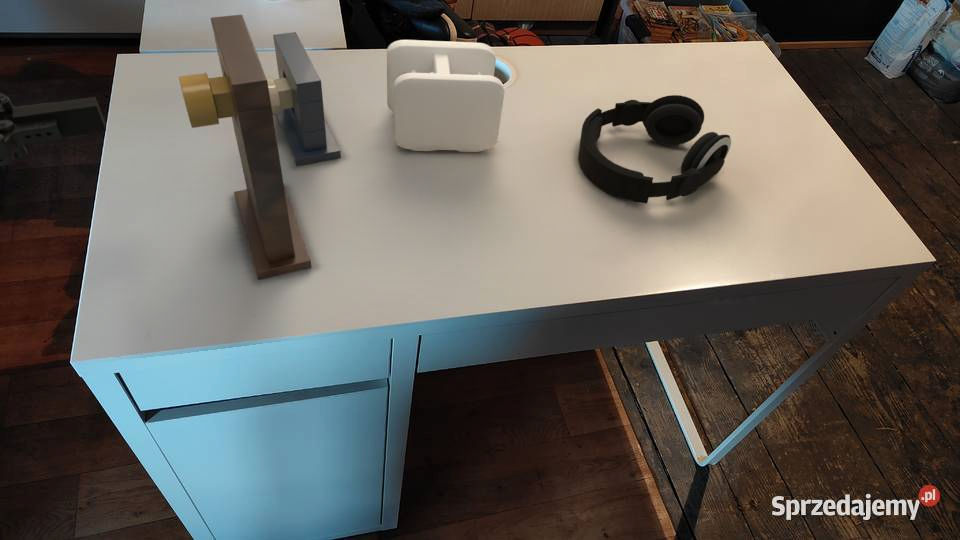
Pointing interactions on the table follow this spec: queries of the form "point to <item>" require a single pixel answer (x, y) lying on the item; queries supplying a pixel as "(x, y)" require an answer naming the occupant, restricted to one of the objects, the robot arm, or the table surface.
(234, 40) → the panel front
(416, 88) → the cable organizer
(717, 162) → the headphones
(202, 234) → the table surface
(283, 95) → the knob back
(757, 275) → the table surface
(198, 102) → the knob front
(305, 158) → the panel back
